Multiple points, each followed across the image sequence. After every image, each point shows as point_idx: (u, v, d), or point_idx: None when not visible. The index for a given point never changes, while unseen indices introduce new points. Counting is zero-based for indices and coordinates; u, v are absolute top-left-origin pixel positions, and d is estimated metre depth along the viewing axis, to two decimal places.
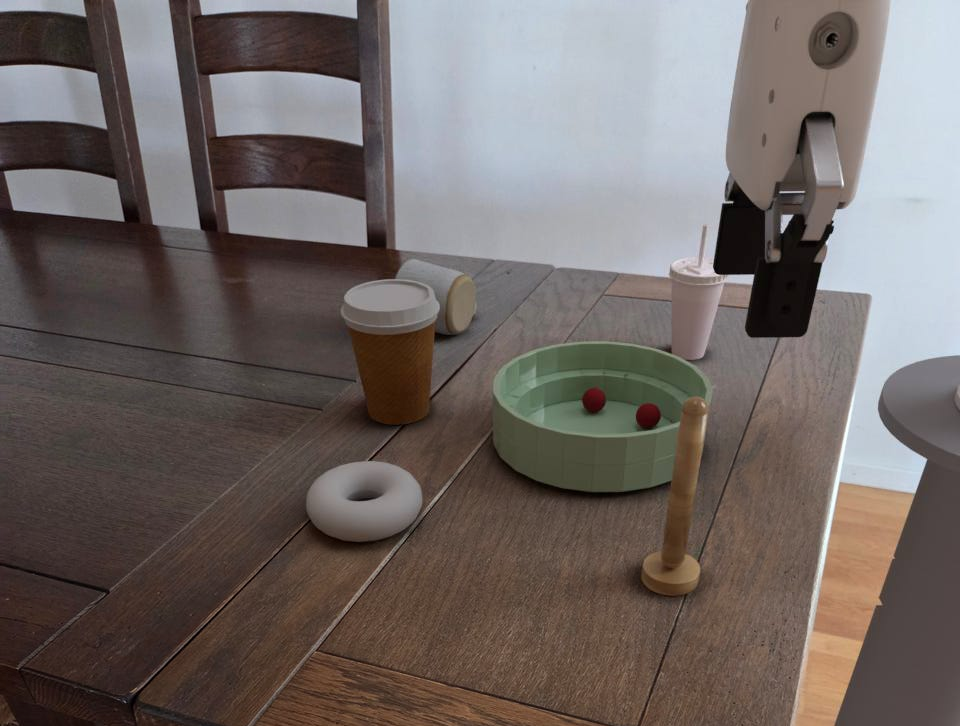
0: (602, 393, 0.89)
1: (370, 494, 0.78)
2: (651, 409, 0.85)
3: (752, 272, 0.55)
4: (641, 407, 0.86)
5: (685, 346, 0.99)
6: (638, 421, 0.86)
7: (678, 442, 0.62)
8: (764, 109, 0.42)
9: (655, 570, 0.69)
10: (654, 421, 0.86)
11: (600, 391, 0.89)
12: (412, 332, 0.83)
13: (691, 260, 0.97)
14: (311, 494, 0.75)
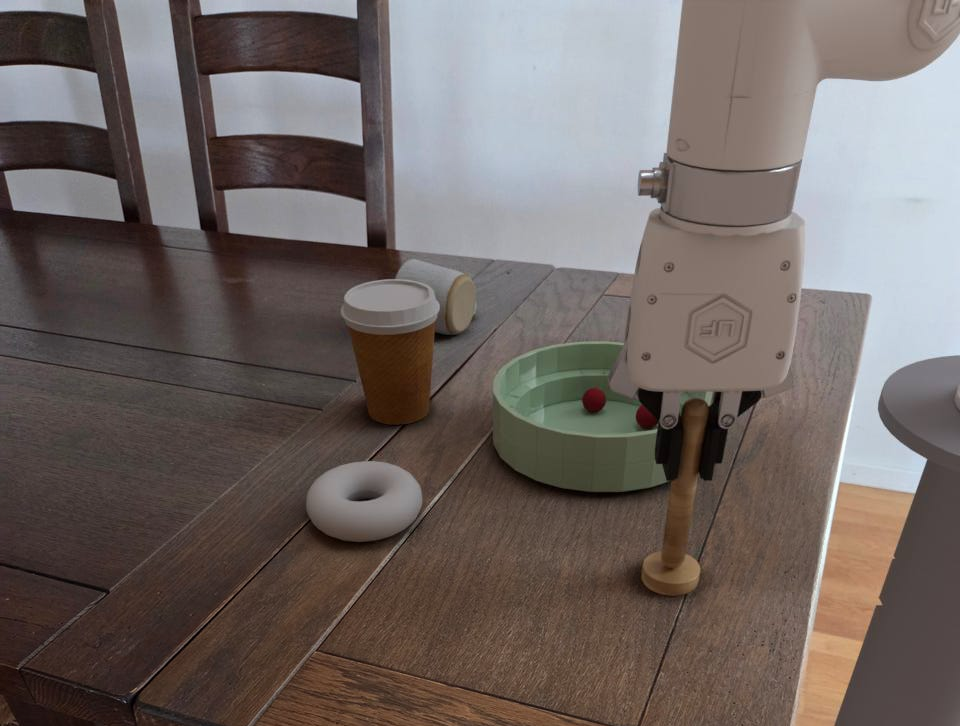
0: (602, 393, 0.89)
1: (370, 494, 0.78)
2: None
3: None
4: (641, 407, 0.86)
5: None
6: (638, 421, 0.86)
7: None
8: None
9: (655, 570, 0.69)
10: (654, 421, 0.86)
11: (600, 391, 0.89)
12: (412, 332, 0.83)
13: None
14: (311, 494, 0.75)
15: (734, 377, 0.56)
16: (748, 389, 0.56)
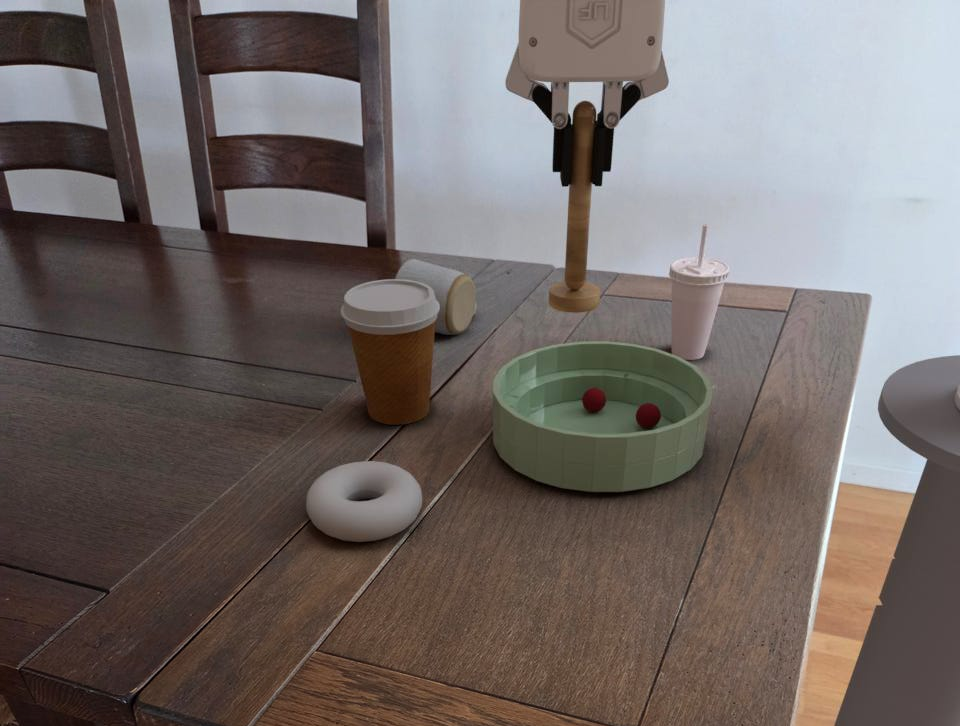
0: (602, 393, 0.89)
1: (370, 494, 0.78)
2: (651, 409, 0.85)
3: (592, 181, 0.70)
4: (641, 407, 0.86)
5: (685, 346, 0.99)
6: (638, 421, 0.86)
7: None
8: None
9: (559, 291, 0.76)
10: (654, 421, 0.86)
11: (600, 391, 0.89)
12: (412, 332, 0.83)
13: (691, 260, 0.97)
14: (311, 494, 0.75)
15: (612, 64, 0.63)
16: (625, 78, 0.64)
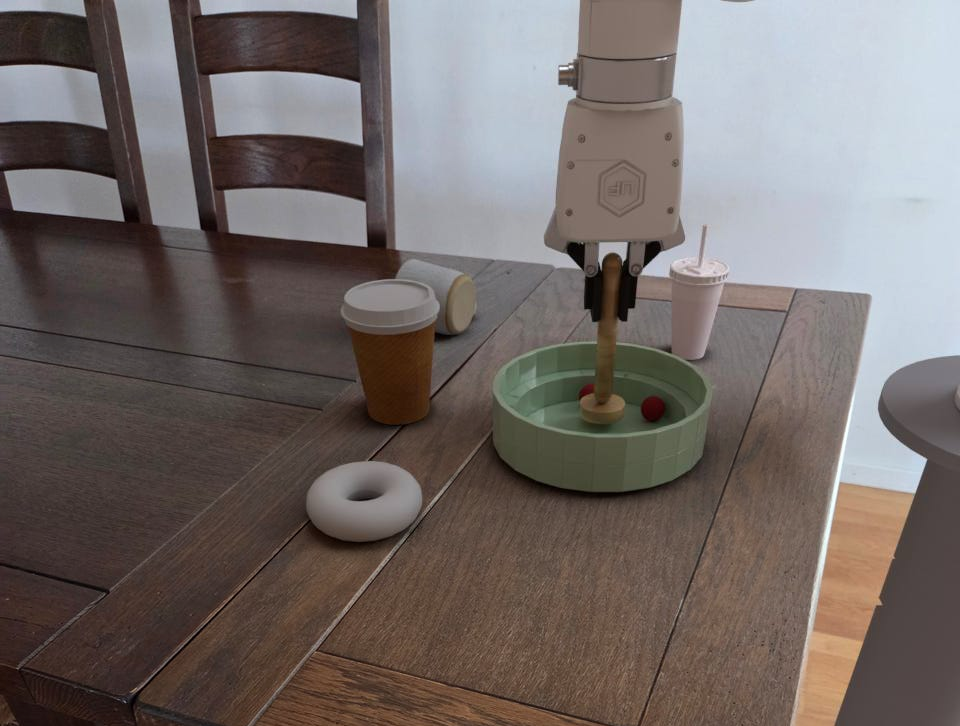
0: None
1: (370, 494, 0.78)
2: None
3: (618, 317, 0.80)
4: None
5: (685, 346, 0.99)
6: (645, 401, 0.87)
7: None
8: None
9: (589, 405, 0.86)
10: (661, 403, 0.87)
11: (593, 384, 0.90)
12: (412, 332, 0.83)
13: (691, 260, 0.97)
14: (311, 494, 0.75)
15: (636, 229, 0.73)
16: (648, 239, 0.74)
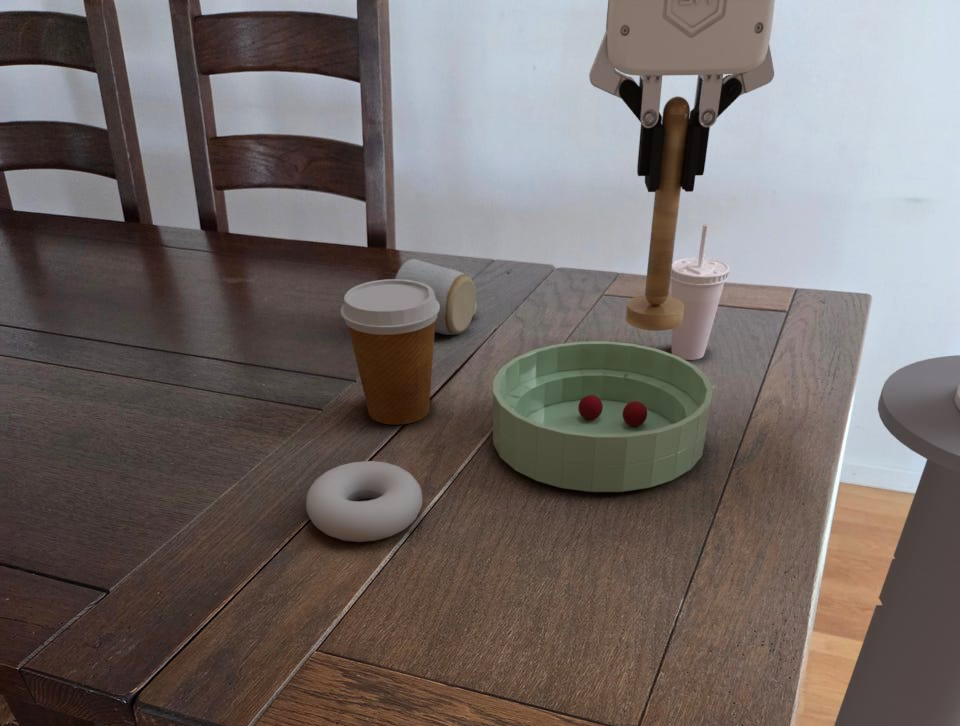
0: (595, 414, 0.87)
1: (370, 494, 0.78)
2: (626, 409, 0.86)
3: (682, 186, 0.63)
4: None
5: (685, 346, 0.99)
6: None
7: None
8: None
9: (639, 307, 0.69)
10: (632, 418, 0.86)
11: (593, 413, 0.87)
12: (412, 332, 0.83)
13: (691, 260, 0.97)
14: (311, 494, 0.75)
15: (713, 54, 0.56)
16: (727, 70, 0.57)
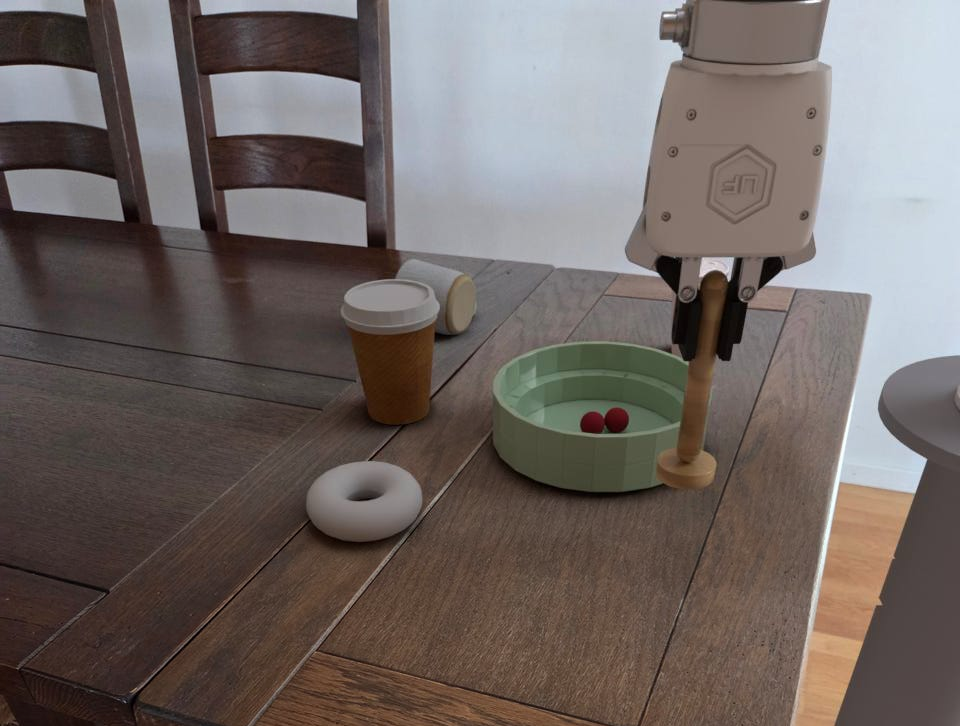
0: None
1: (370, 494, 0.78)
2: None
3: (718, 355, 0.61)
4: None
5: None
6: None
7: None
8: None
9: (670, 464, 0.67)
10: (621, 431, 0.86)
11: None
12: (412, 332, 0.83)
13: None
14: (311, 494, 0.75)
15: (756, 240, 0.54)
16: (770, 254, 0.55)
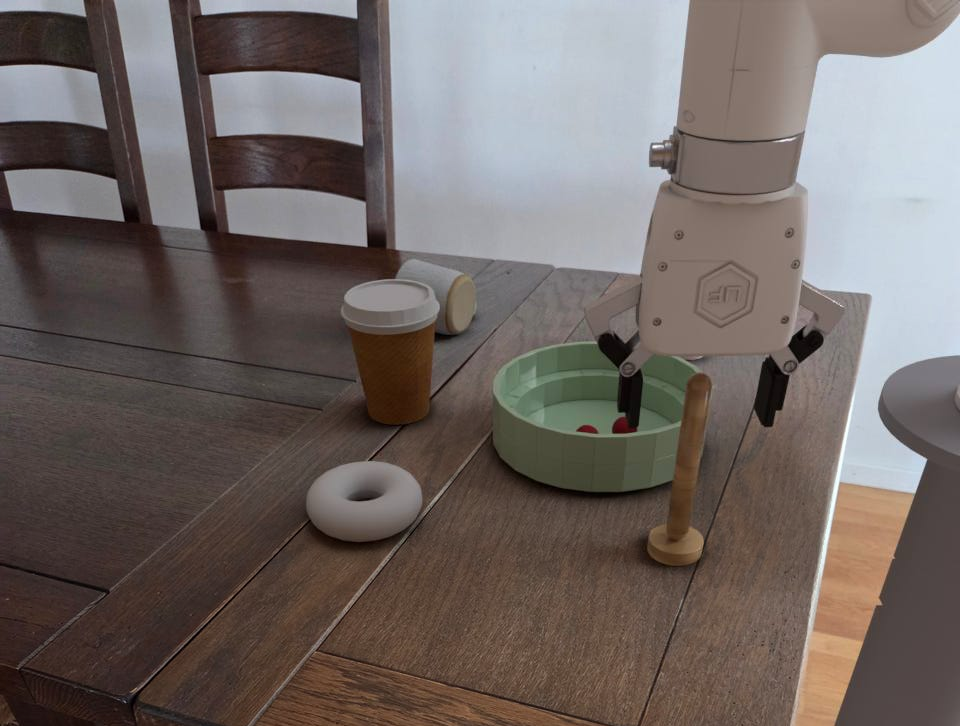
0: None
1: (370, 494, 0.78)
2: None
3: (760, 421, 0.64)
4: (621, 417, 0.84)
5: None
6: None
7: (683, 416, 0.65)
8: None
9: (660, 541, 0.71)
10: None
11: (584, 431, 0.82)
12: (412, 332, 0.83)
13: None
14: (311, 494, 0.75)
15: (741, 341, 0.59)
16: (754, 353, 0.59)
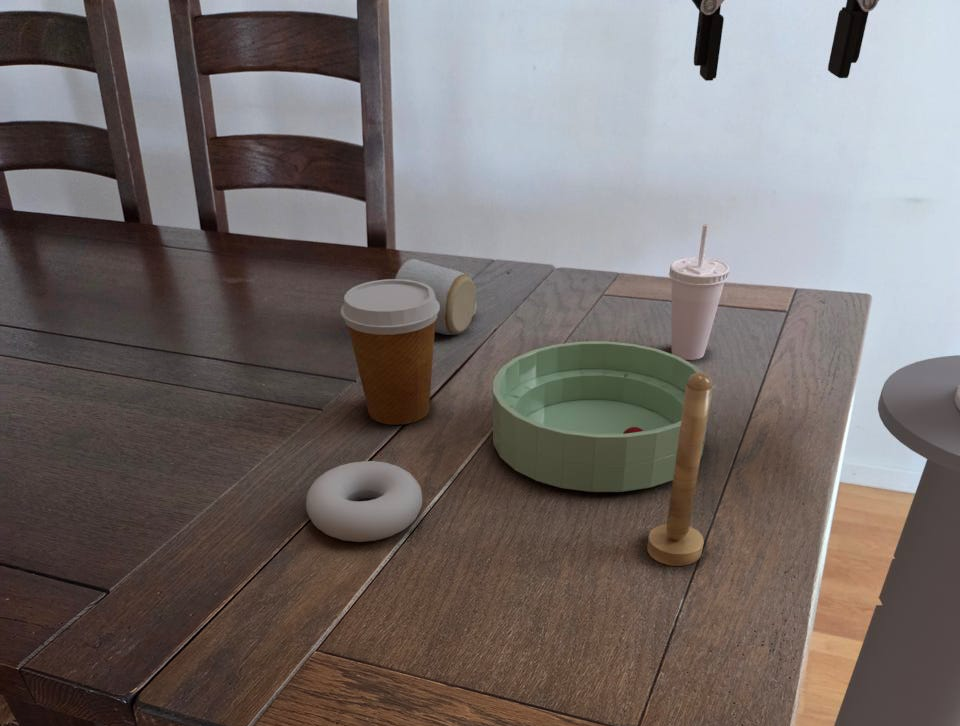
0: None
1: (370, 494, 0.78)
2: None
3: (835, 74, 0.65)
4: None
5: (685, 346, 0.99)
6: None
7: (683, 416, 0.65)
8: None
9: (660, 541, 0.71)
10: (637, 427, 0.83)
11: None
12: (412, 332, 0.83)
13: (691, 260, 0.97)
14: (311, 494, 0.75)
15: None
16: None
